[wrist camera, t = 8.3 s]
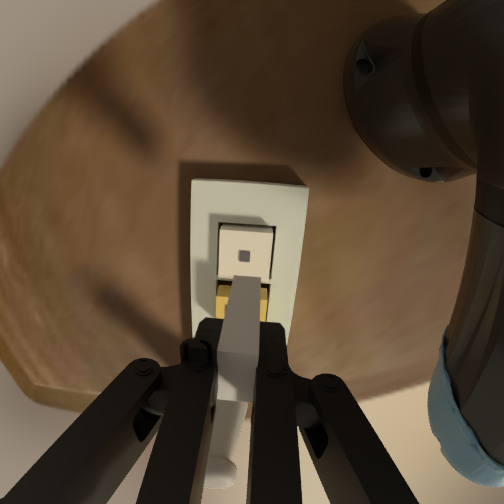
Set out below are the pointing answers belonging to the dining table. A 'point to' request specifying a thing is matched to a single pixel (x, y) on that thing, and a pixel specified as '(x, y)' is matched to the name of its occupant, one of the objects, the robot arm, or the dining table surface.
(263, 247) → the tile
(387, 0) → the dining table surface
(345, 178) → the dining table surface
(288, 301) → the tile board
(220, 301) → the tile
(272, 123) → the dining table surface
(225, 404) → the salt shaker
